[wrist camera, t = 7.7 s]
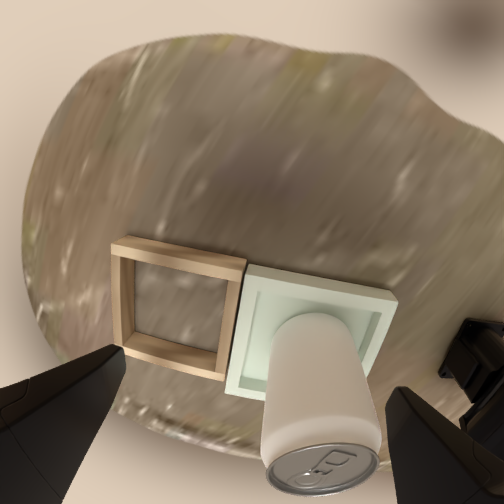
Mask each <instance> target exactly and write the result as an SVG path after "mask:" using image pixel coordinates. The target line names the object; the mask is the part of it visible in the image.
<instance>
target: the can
mask: <svg viewBox="0 0 504 504" xmlns="http://www.w3.org/2000/svg"><path fill="white" fill-rule="evenodd" d="M381 440H382V436H381V430H380V426H379V422H378V418H377V414H376V411H375V407H374V404H373V400H372V397H371V393H370V390H369V387H368V383H367V380H366V377H365V374H364V371H363V368H362V365H361V361H360V358H359V355H358V352H357V349H356V347H355V344H354V341H353V338H352V336H351V333H350V331H349V329H348V328H347V326H346V325H345V324H344V323H343V322H342V321H341V320H339V319H338V318H336V317H334V316H331V315H328V314H324V313H306V314H302V315H298V316H296V317H293V318H291V319H290V320H288V321H286V322H285V323H284V324H283V325H282V326H281V327H280V328H279V329H278V330H277V331H276V333H275V335H274V337H273V339H272V343H271V349H270V357H269V367H268V377H267V387H266V397H265V406H264V416H263V426H262V436H261V457H262V460H263V462H264V464H265V466H266V468H267V470H266V479H267V481H268V482H269V484H270V485H271V486H273V487H274V488H275V489H277V490H279V491H281V492H284V493H287V494H291V495H296V496H305V497H318V496H326V495H333V494H337V493H341V492H344V491H347V490H350V489H352V488H355V487H357V486H358V485H361V484H362V483H364V482H365V481H367V480H368V479H369V478H371V477H372V476H373V474H375V472H376V471H377V469H378V467H379V463H380V460H379V456H378V452H379V449H380V446H381Z"/></svg>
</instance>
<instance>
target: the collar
mask: <svg viewBox="0 0 504 504" xmlns="http://www.w3.org/2000/svg"><path fill="white" fill-rule="evenodd" d="M135 260H138V261H143V262H147V263H151V264H156V265H160V266H165V267H169V268H174V269H178V270H183V271H187V272H192V273H197V274H201V275H206V276H211V277H216V278H220V279H225V280H228V286H227V292H226V299H225V306H224V312H223V319H222V326H221V333H220V340H219V347H218V353H214V352H209V351H205V350H201V349H197V348H193V347H189V346H185V345H181V344H177V343H173V342H170V341H166V340H162V339H159V338H155V337H152V336H148V335H145V334H142V333H138V332H135V323H134V272H135ZM246 262H247V259H243V258H238V257H233V256H228V255H223V254H218V253H213V252H208V251H203V250H198V249H193V248H188V247H183V246H178V245H173V244H168V243H163V242H158V241H154V240H149V239H144V238H139V237H134V236H129V235H126V236H125V237H123V238H121V239H119V240H117V241H115V242H113V243H111V297H112V318H113V332H114V344H115V345H118V346H121V347H123V349H124V353H125V354H126V355H129V356H132V357H135V358H138V359H141V360H144V361H148V362H151V363H154V364H157V365H161V366H164V367H168V368H171V369H175V370H179V371H182V372H186V373H190V374H194V375H198V376H202V377H206V378H210V379H214V380H219V381H223V382H224V379H225V375H226V372H227V368H228V365H229V360H230V354H231V348H232V343H233V337H234V331H235V325H236V319H237V314H238V308H239V302H240V296H241V291H242V285H243V279H244V273H245V268H246Z"/></svg>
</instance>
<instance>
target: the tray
mask: <svg viewBox="0 0 504 504" xmlns="http://www.w3.org/2000/svg"><path fill="white" fill-rule="evenodd" d="M398 303H399V302H398V301H397V299H396V298H395V297H394V295H393V294H392V293H391V291H390V290H385V289H380V288H374V287H369V286H363V285H358V284H353V283H347V282H342V281H337V280H331V279H326V278H321V277H315V276H310V275H305V274H300V273H295V272H289V271H284V270H279V269H274V268H269V267H264V266H259V265H254V264H249V265H248V268H247V271H246V274H245V279H244V285H243V291H242V296H241V302H240V308H239V313H238V319H237V325H236V331H235V336H234V342H233V348H232V354H231V359H230V365H229V371H228V377H227V382H226V388H225V393H227V394H231V395H236V396H241V397H246V398H252V399H257V400H263V401H265V397H266V387H267V377H268V367H269V357H270V349H271V343H272V339H273V337H274V335H275V333H276V331H277V330H278V329H279V328H280V327H281V326H282V325H283V324H284V323H285V322H286V321H288V320H290V319H291V318H293V317H296V316H298V315H302V314H306V313H324V314H328V315H331V316H334V317H336V318H338V319H339V320H341V321H342V322H343V323H344V324H345V325H346V326H347V328H348V329H349V331H350V333H351V336H352V338H353V341H354V344H355V347H356V349H357V352H358V355H359V358H360V361H361V365H362V368H363V371H364V374H365V377H366V378H367V376H368V373H369V371H370V369H371V367H372V365H373V363H374V361H375V359H376V356H377V354H378V352H379V350H380V347H381V345H382V343H383V340H384V338H385V336H386V333H387V331H388V328H389V326H390V323H391V321H392V318H393V316H394V313H395V311H396V308H397V305H398Z"/></svg>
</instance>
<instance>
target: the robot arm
mask: <svg viewBox="0 0 504 504" xmlns="http://www.w3.org/2000/svg"><path fill="white" fill-rule="evenodd" d="M503 336H504V323H500V322H492V321H484V320H477V319H466V320H465V321H464V323H463V325H462V327H461V329H460V331H459V334H458V336H457V338H456V340H455V342H454V344H453V346H452V348H451V350H450V352H449V354H448V356H447V358H446V360H445V361H444V363H443V365H442V367H441V369H440V371H439V373H438V375H439V377H440V378H455V380H456V382H457V383H458V385H459V386H460V388H461V389H463V390H464V392H465V394H466V395H467V397H468V399H469V400H470V402H471V403H474V405H473V406H472V407H471V408H470V409H469V410H468V411H467V412H466V413H465V414H464V415H462V416H461V417H460V418H459V422H460V427H461V429H459V428H458V427H457V426H456V425H454V424H453V423H452V422H451V421H449V420H448V419H447V418H446V417H444V416H443V415H442V414H441V413H439V412H438V411H437V410H436V409H434V408H433V407H432V406H431V405H429V404H428V403H427V402H426V401H424V400H423V399H422V398H421V397H419V396H418V395H417V394H416V393H414V392H413V391H412V390H411V389H409V388H408V387H406V386H398V387H396V388H395V389H394V390H393V392H392V394H391V396H390V398H389V399H388V401H387V403H386V407H385V413H386V424H387V436H388V447H389V453H390V459H391V464H392V470H393V476H394V482H395V489H396V496H397V503H398V504H504V339H503ZM125 371H126V361H125V353H124V349H123V347H121V346H118V345H115V344H110V345H108V346H105V347H103V348H101V349H98V350H96V351H94V352H91V353H89V354H87V355H84V356H82V357H79V358H77V359H75V360H72V361H70V362H67V363H65V364H63V365H60V366H58V367H56V368H53V369H51V370H48V371H45V372H43V373H41V374H38V375H36V376H33V377H31V378H30V379H25V380H23V381H20V382H18V383H15V384H12V385H9V386H6V387H3V388H0V504H61V503H62V502H63V499H64V497H65V495H66V493H67V491H68V489H69V487H70V485H71V483H72V480H73V479H74V477H75V475H76V473H77V471H78V469H79V467H80V465H81V463H82V461H83V459H84V457H85V455H86V453H87V451H88V449H89V447H90V446H91V444H92V442H93V440H94V438H95V436H96V434H97V432H98V430H99V429H100V427H101V425H102V423H103V421H104V419H105V417H106V415H107V414H108V412H109V410H110V408H111V406H112V404H113V401H114V399H115V396H116V394H117V391H118V389H119V386H120V384H121V381H122V379H123V376H124V374H125Z"/></svg>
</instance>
